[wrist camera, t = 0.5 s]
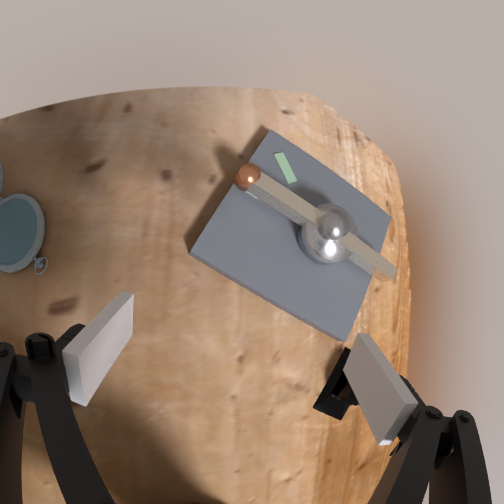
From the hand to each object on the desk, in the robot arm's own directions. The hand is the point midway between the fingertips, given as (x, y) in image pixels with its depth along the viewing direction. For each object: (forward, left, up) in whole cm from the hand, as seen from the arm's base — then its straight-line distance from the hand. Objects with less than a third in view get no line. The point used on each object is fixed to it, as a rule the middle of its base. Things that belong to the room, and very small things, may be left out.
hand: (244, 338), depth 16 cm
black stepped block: (+1, -21, -19) cm, 28 cm away
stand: (+16, -5, -18) cm, 24 cm away
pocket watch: (-4, +27, -18) cm, 33 cm away
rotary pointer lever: (+16, -6, -15) cm, 23 cm away
